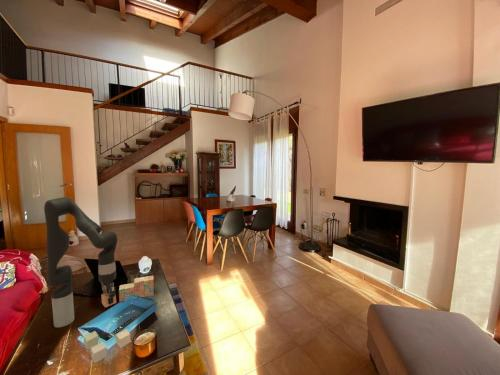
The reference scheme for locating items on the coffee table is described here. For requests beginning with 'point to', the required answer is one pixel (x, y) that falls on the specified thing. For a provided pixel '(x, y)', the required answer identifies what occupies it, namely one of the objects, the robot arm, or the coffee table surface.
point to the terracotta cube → (105, 300)
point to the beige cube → (98, 352)
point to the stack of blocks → (137, 288)
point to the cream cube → (123, 338)
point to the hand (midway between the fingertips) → (108, 301)
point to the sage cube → (91, 340)
